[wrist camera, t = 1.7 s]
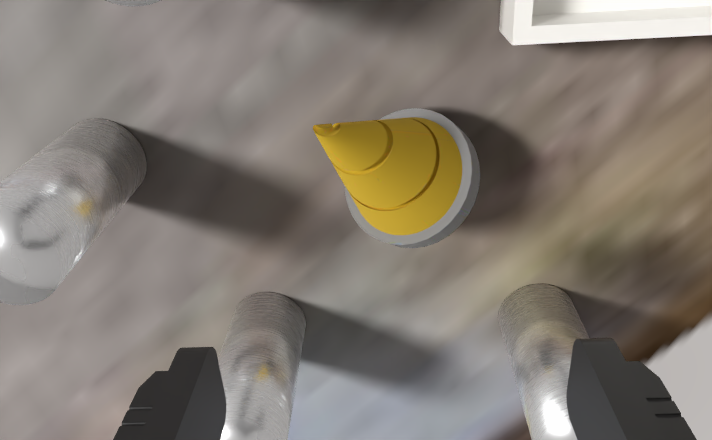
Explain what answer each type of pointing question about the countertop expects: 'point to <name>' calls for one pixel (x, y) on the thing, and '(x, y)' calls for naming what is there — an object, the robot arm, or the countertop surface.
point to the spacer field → (254, 313)
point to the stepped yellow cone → (405, 174)
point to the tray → (602, 20)
